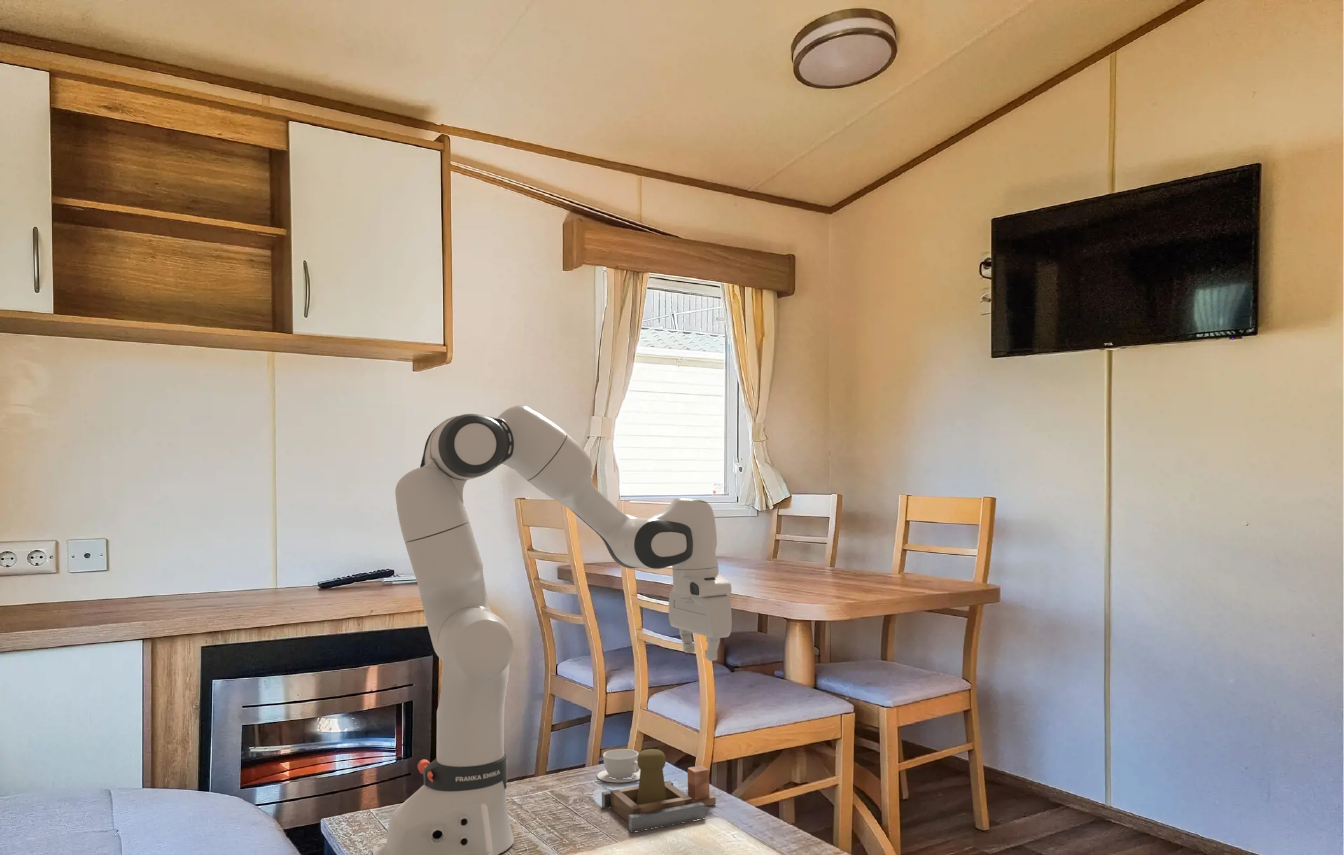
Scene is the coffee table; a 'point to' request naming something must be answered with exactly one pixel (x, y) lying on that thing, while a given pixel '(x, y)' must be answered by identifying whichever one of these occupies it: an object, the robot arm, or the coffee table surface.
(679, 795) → the frame
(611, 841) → the coffee table surface
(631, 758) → the teacup
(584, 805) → the coffee table surface
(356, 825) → the coffee table surface
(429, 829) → the robot arm
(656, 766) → the cork
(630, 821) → the lane rails
